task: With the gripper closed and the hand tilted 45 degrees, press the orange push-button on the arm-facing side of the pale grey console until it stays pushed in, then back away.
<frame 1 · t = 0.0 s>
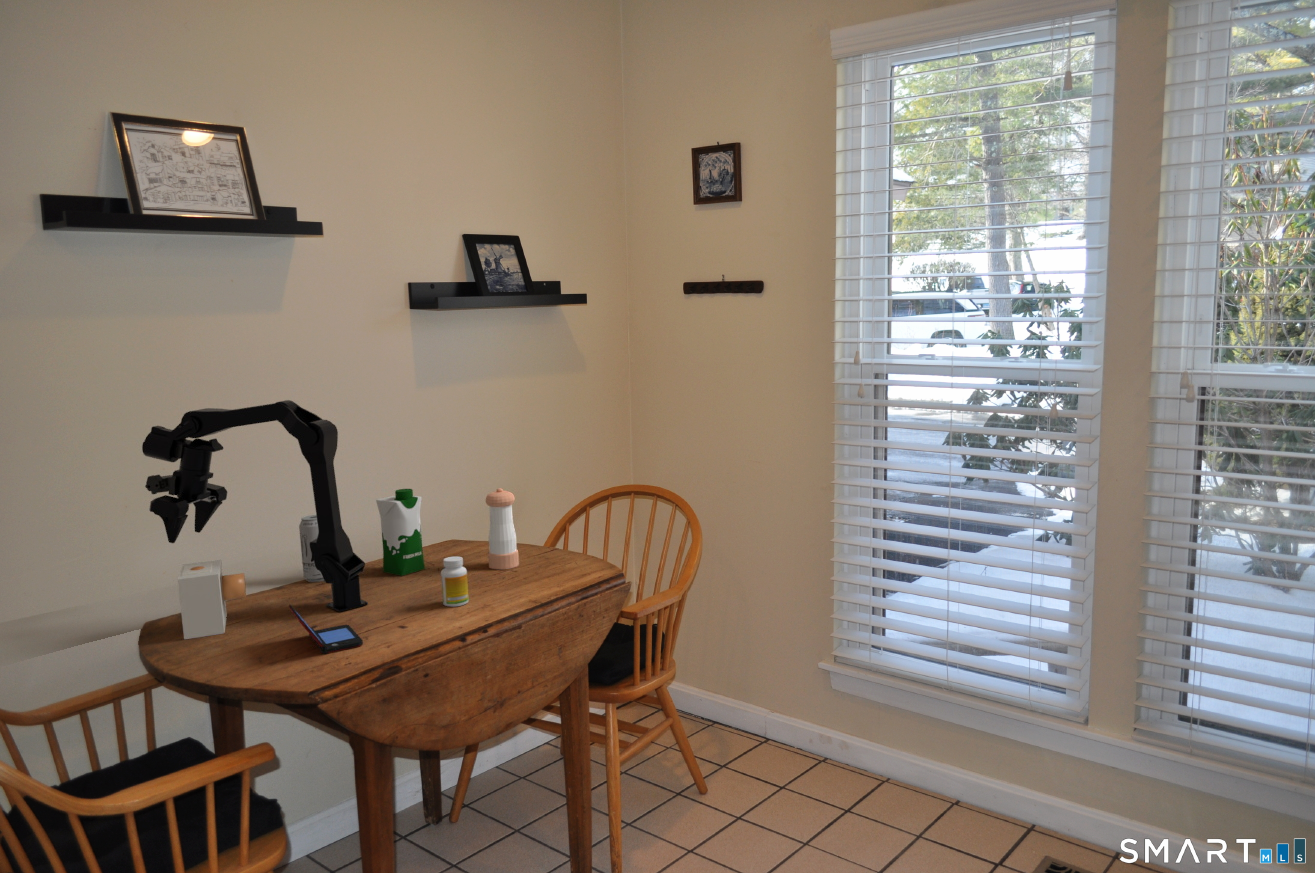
hand: (184, 537, 190), 15 cm above the table, tool pointing down, fingers open, 9 cm apart
energy drink can: (317, 579, 210), on the table
console: (206, 627, 178), on the table
pepper shaker: (504, 566, 217), on the table
button: (234, 586, 180), point 7 cm above the table, slide at 0.0 cm
handheld game console: (326, 645, 167), on the table
supplement bottle: (456, 603, 189), on the table
milk carton: (404, 571, 215), on the table
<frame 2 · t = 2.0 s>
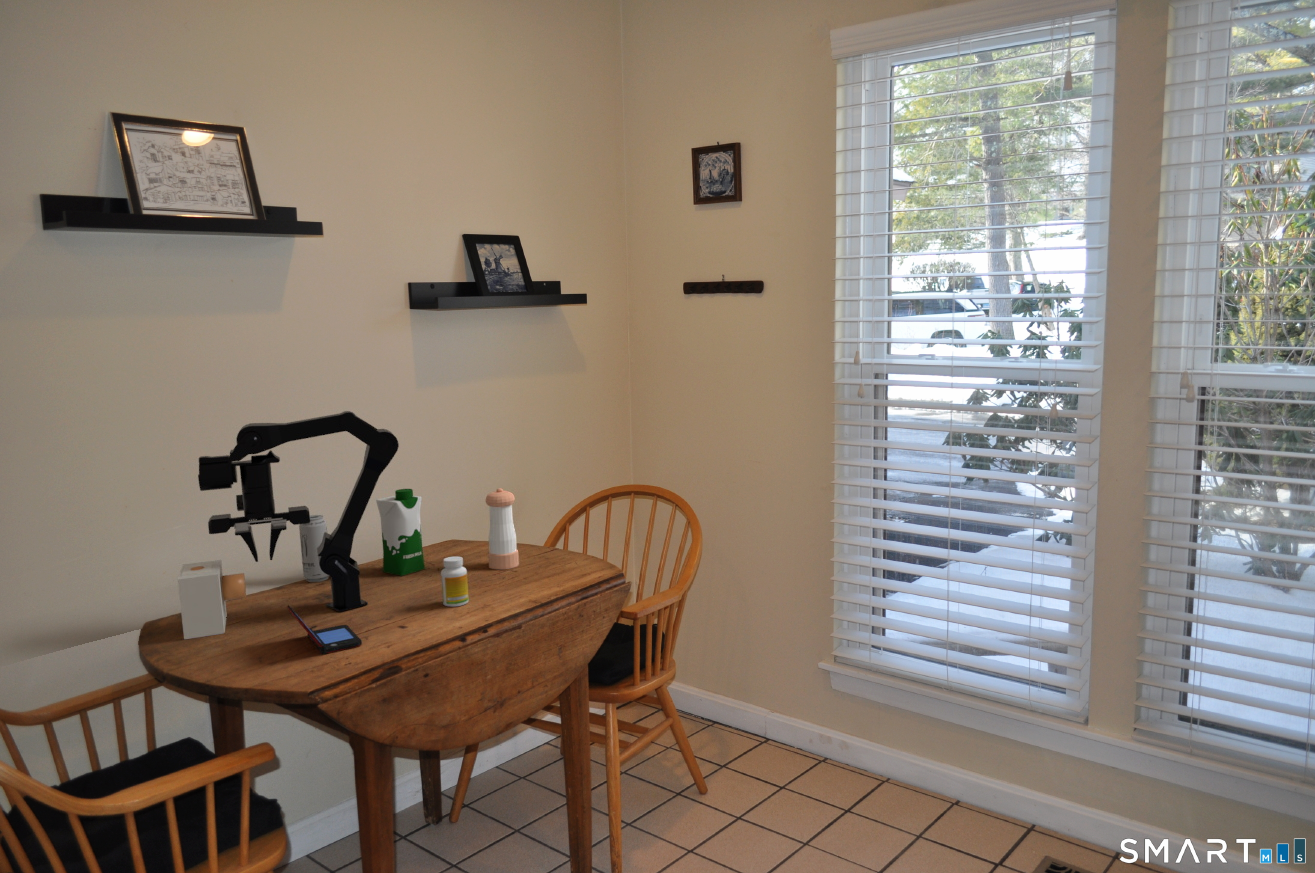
hand: (264, 560, 182), 12 cm above the table, tool pointing down, fingers closed
nothing on the table moved.
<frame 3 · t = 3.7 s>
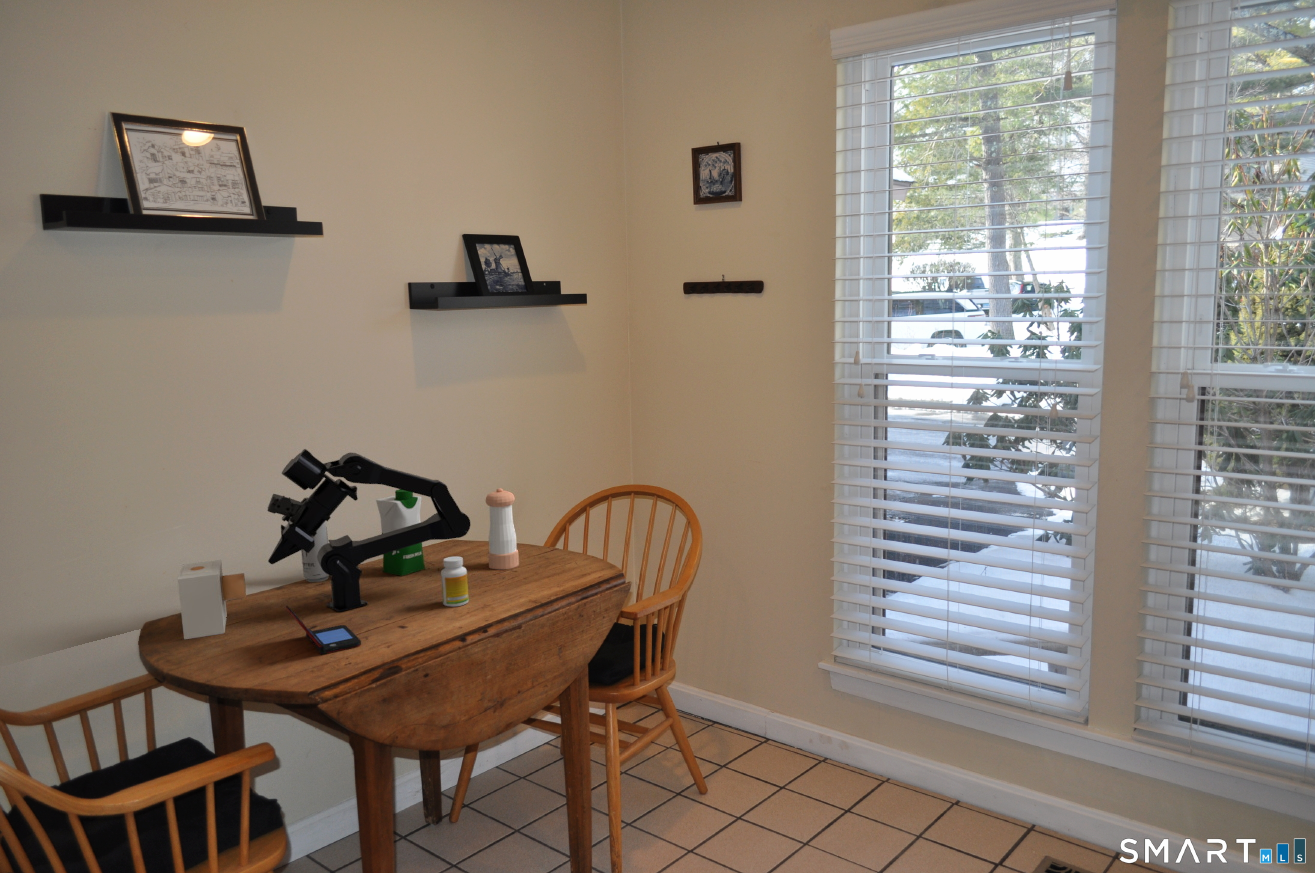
hand: (269, 562, 182), 11 cm above the table, tool tilted 45°, fingers closed
nothing on the table moved.
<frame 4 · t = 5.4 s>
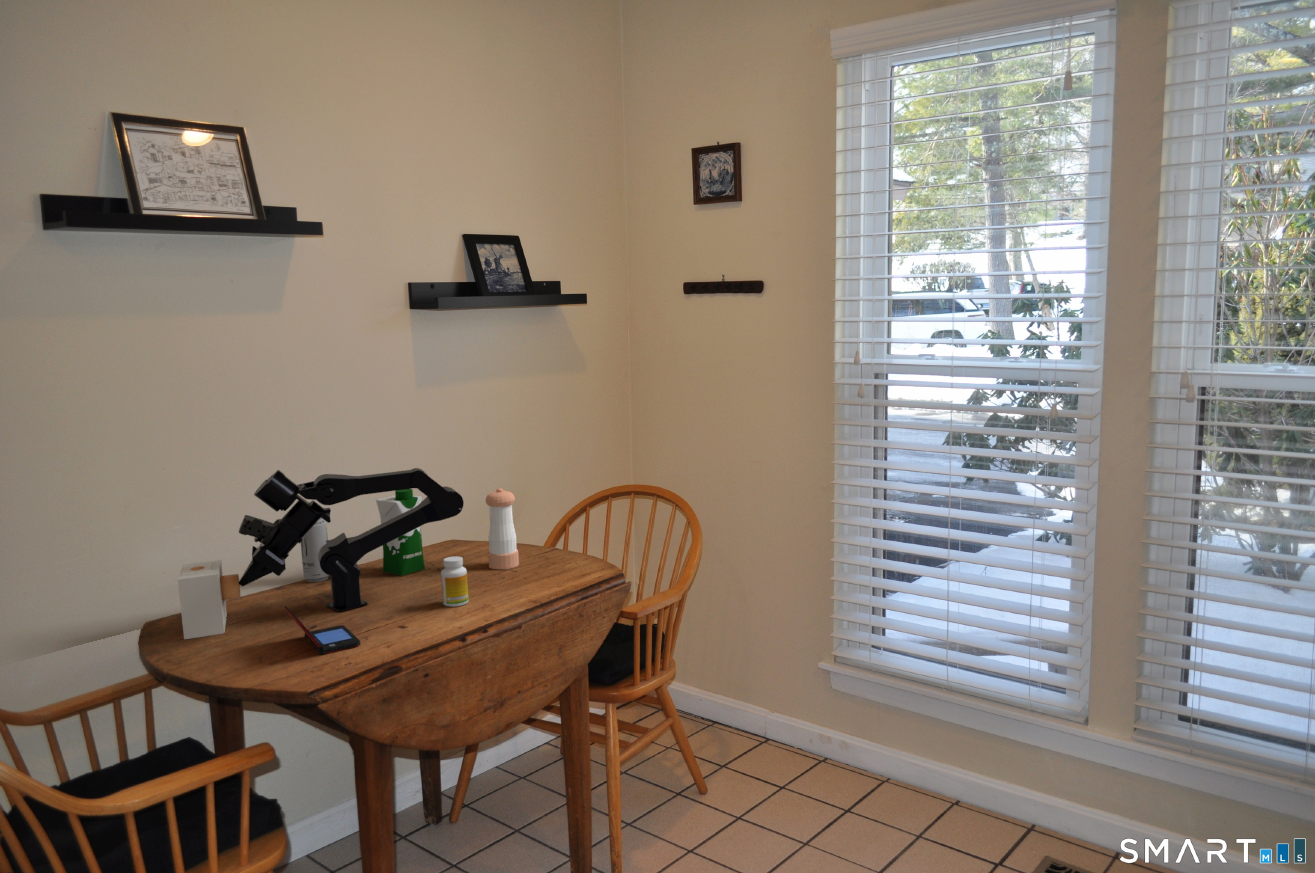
hand: (240, 584, 180), 8 cm above the table, tool tilted 45°, fingers closed, pressing on button
button: (228, 587, 179), point 7 cm above the table, slide at 1.1 cm, touching gripper
everything else where it was.
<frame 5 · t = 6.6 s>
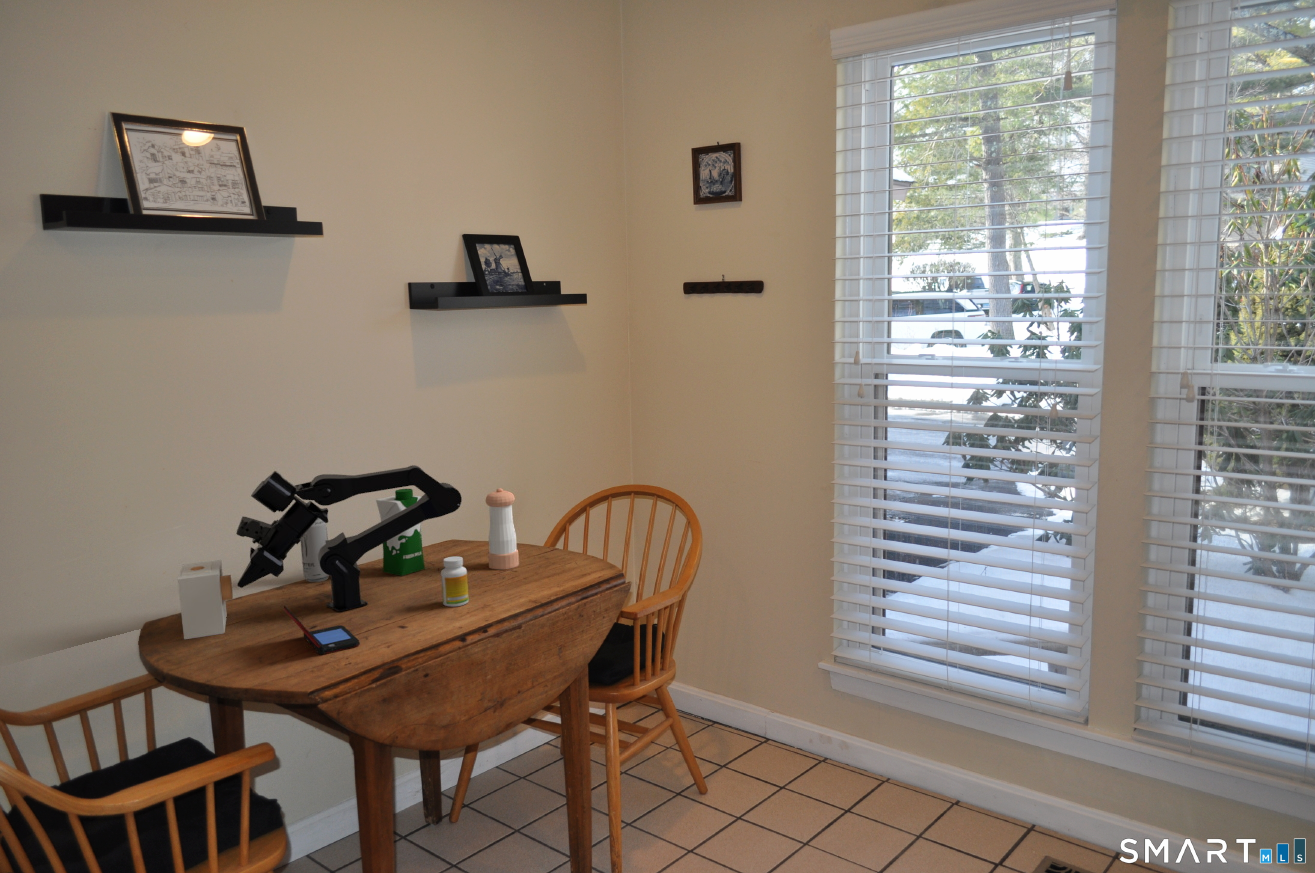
hand: (239, 586, 180), 7 cm above the table, tool tilted 45°, fingers closed
button: (220, 588, 179), point 7 cm above the table, slide at 2.5 cm
everything else where it was.
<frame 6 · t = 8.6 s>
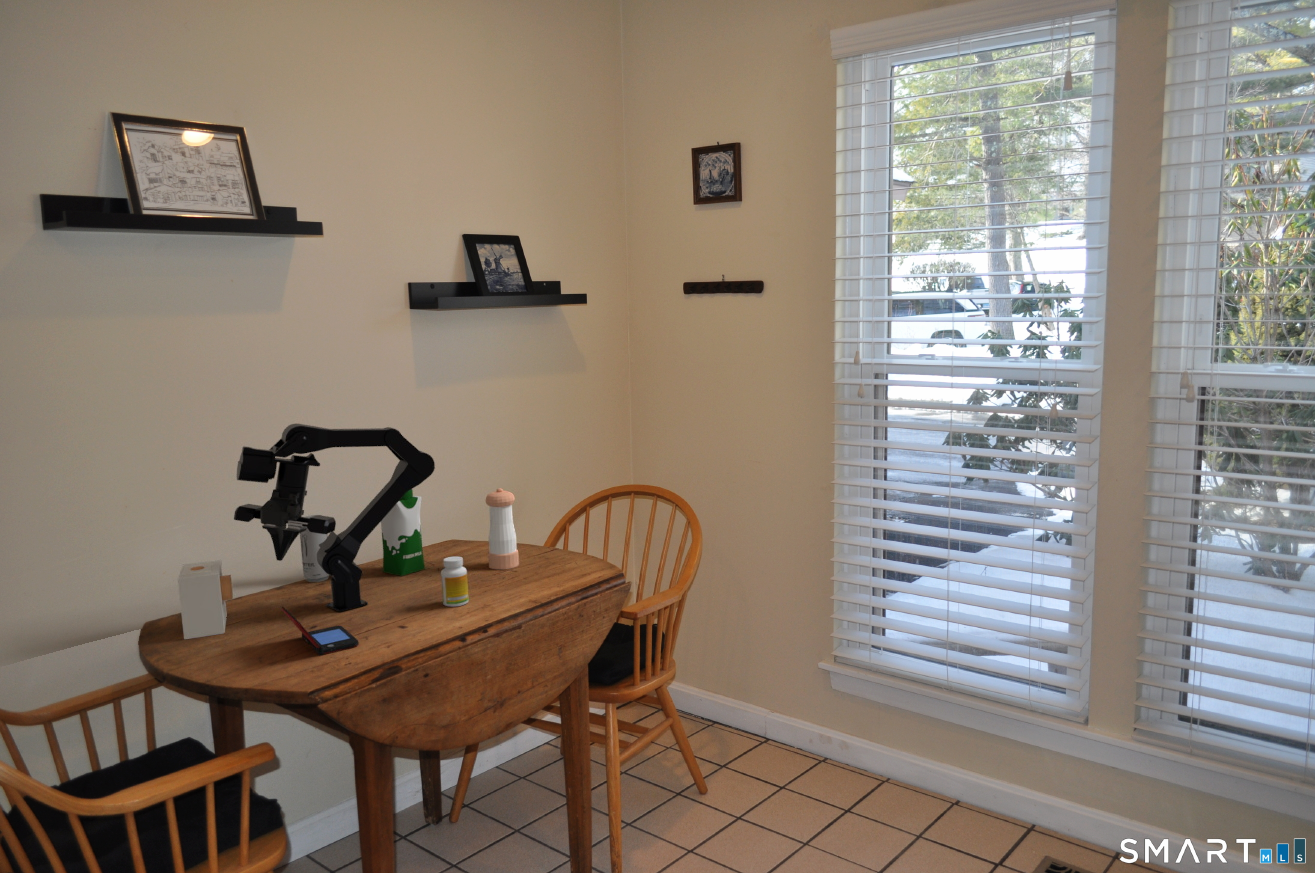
hand: (279, 560, 182), 12 cm above the table, tool pointing down, fingers closed
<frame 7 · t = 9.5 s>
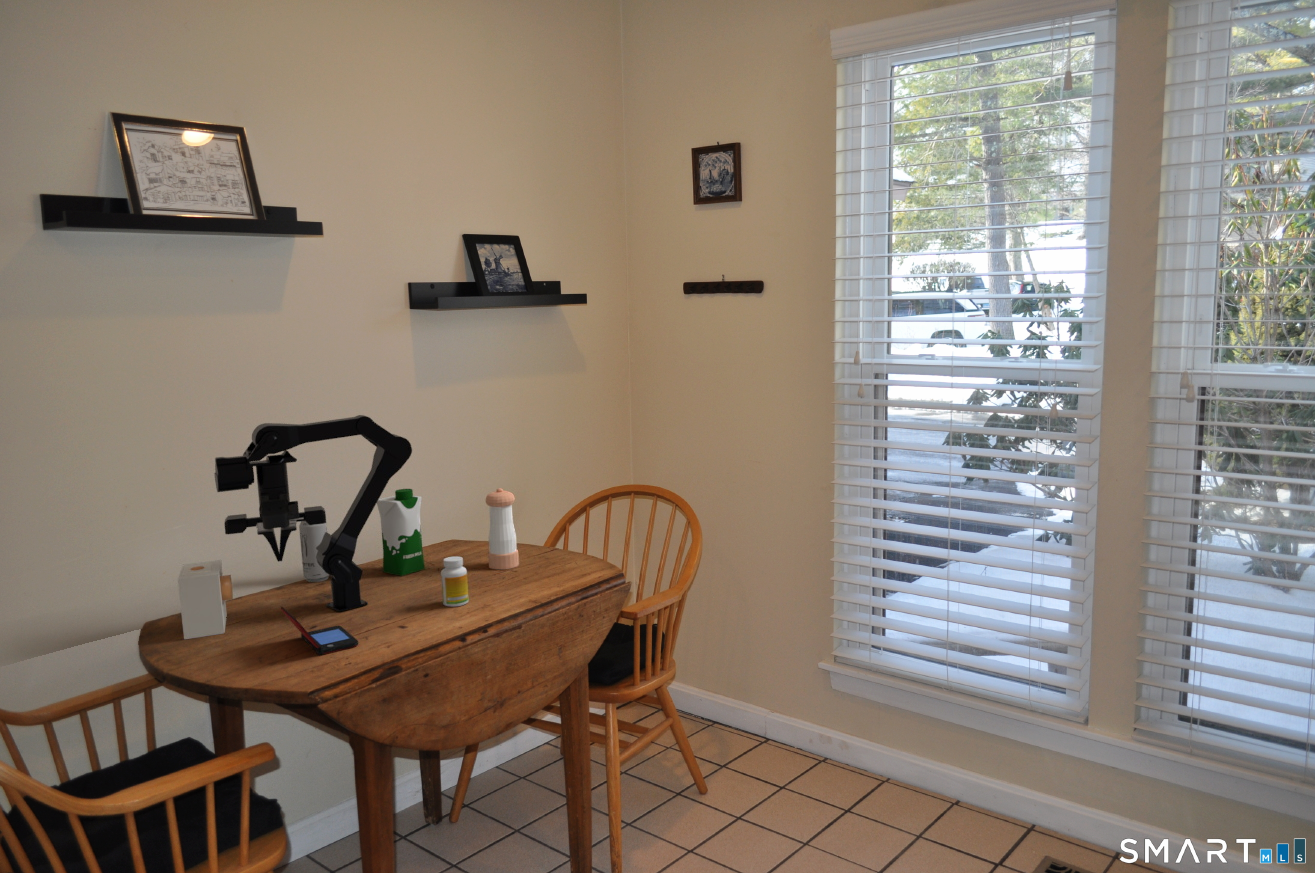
hand: (279, 560, 181), 12 cm above the table, tool pointing down, fingers closed
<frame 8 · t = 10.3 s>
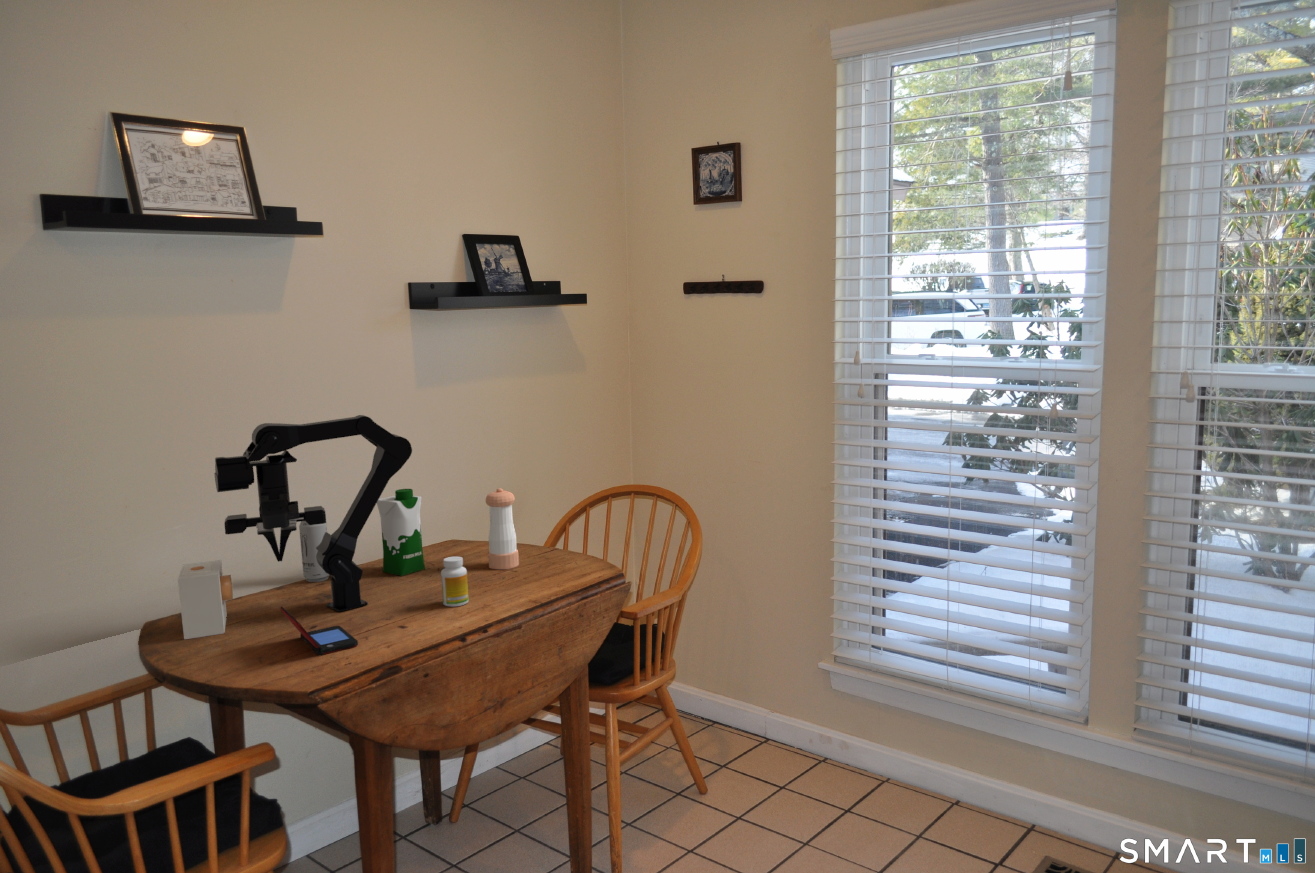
hand: (279, 560, 181), 12 cm above the table, tool pointing down, fingers closed
at the end: button slide at 2.5 cm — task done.
